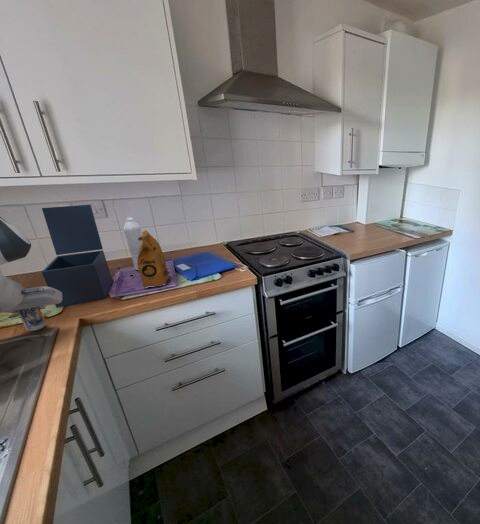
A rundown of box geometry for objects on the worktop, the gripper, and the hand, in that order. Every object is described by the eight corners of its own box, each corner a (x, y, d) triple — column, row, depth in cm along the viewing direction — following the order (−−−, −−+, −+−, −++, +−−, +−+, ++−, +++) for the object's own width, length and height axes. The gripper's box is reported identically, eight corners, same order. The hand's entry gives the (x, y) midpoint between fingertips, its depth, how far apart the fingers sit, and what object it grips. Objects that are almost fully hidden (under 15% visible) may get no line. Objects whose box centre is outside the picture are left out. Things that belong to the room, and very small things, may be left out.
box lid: (90, 204, 120) (93, 204, 124) (41, 208, 113) (46, 207, 117) (102, 249, 124) (104, 248, 128) (56, 255, 118) (60, 253, 121)
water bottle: (134, 268, 143) (119, 217, 134) (149, 264, 147) (136, 214, 138) (137, 273, 137) (121, 220, 128) (153, 270, 141) (139, 218, 132)
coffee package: (139, 290, 122) (124, 239, 114) (146, 278, 133) (133, 230, 124) (167, 287, 125) (154, 236, 117) (172, 275, 136) (160, 228, 128)
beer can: (30, 333, 93) (15, 299, 89) (23, 329, 95) (7, 296, 91) (50, 325, 97) (36, 293, 93) (42, 322, 99) (28, 289, 95)
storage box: (105, 298, 116) (94, 264, 111) (56, 307, 109) (41, 271, 104) (113, 281, 130) (103, 250, 125) (69, 288, 124) (57, 256, 118)
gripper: (49, 277, 88) (72, 293, 100) (-51, 291, 80) (-14, 306, 91) (49, 297, 86) (71, 311, 98) (-55, 313, 77) (-16, 326, 89)
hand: (29, 308), depth 94 cm, fingers closed on beer can, 5 cm apart
